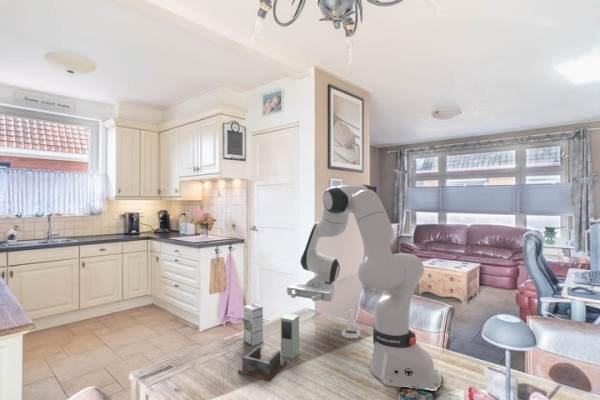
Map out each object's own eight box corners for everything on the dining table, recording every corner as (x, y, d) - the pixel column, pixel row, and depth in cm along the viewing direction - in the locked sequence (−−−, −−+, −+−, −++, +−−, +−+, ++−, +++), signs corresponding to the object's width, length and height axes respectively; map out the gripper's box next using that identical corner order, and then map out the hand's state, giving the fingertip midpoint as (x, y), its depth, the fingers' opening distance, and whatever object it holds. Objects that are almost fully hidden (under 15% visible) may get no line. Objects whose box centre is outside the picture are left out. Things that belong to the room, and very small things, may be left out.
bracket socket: (286, 363, 111) (286, 349, 111) (269, 381, 100) (269, 365, 100) (257, 356, 116) (257, 342, 116) (238, 372, 105) (238, 357, 105)
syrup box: (263, 341, 128) (263, 305, 128) (251, 346, 124) (251, 309, 124) (254, 337, 132) (254, 302, 132) (243, 341, 128) (243, 305, 128)
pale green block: (299, 352, 119) (299, 315, 119) (292, 359, 114) (292, 320, 114) (287, 349, 121) (287, 313, 121) (280, 356, 116) (280, 318, 116)
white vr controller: (355, 314, 144) (361, 310, 138) (356, 343, 136) (363, 339, 131) (339, 312, 142) (345, 307, 137) (340, 340, 135) (346, 337, 129)
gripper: (294, 278, 146) (280, 286, 133) (337, 284, 137) (326, 293, 124) (294, 292, 146) (280, 301, 133) (337, 298, 137) (326, 309, 125)
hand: (303, 297), depth 129 cm, fingers open, 8 cm apart
